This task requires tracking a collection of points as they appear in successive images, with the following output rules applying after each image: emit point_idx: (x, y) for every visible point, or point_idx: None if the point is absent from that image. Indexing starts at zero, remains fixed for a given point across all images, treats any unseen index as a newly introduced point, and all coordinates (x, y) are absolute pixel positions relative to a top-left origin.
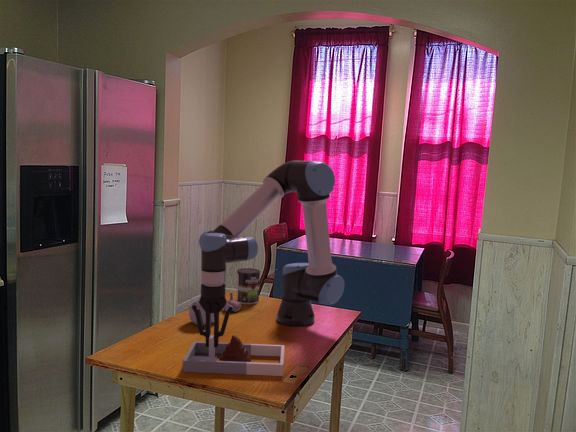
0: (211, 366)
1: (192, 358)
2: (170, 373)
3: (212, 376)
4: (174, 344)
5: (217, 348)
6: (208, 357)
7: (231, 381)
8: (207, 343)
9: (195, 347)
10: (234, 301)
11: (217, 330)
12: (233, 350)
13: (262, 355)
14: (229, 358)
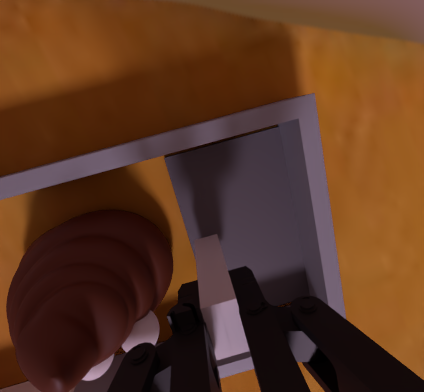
0: (152, 136)
1: (299, 237)
2: (336, 61)
3: (133, 101)
4: (417, 335)
5: None
6: None
7: (14, 77)
8: (243, 280)
9: None
10: None
11: (173, 376)
12: (54, 273)
13: None
14: (90, 236)
